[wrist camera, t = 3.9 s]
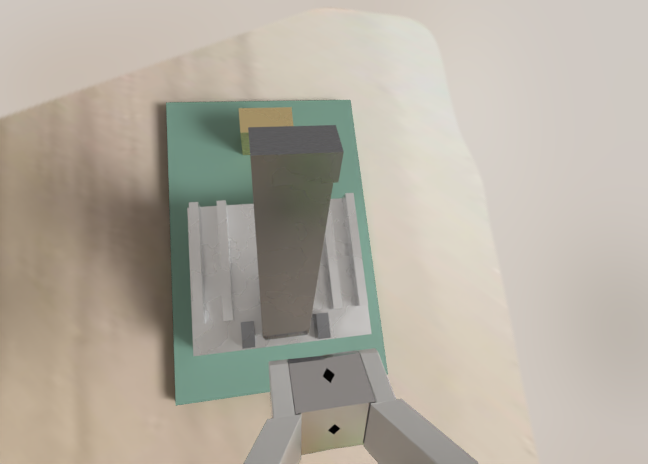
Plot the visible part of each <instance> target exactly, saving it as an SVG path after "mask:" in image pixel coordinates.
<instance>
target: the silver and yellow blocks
mask: <svg viewBox="0 0 648 464" xmlns="http://www.w3.org/2000/svg"><path fill="white" fill-rule="evenodd" d="M239 120H240V134H241V143H242V152H243V155H250V147H249V132H248V127H279V126H293V116H292V107H277V108H239ZM216 202H217V206H206V207H201V206H200V205H199V203H198V202H189V208H187V212H188V237H189V261H190V286H191V310H192V335H193V356H200V355H208V354H216V353H224V352H232V351H240V350H248V349H256V348H264V347H272V346H280V345H288V344H296V343H303V342H311V341H319V340H327V339H335V338H343V337H351V336H359V335H367V334H372V333H371V325H370V318H369V310H368V299H367V291H366V284H365V276H364V268H363V261H362V253H361V246H360V238H359V230H358V223H357V215H356V208H355V200H354V193H345V195H344V196H343V198H339V199H331V200H330V206H329V212H328V218H327V224H326V231H325V237H324V243H323V249H322V255H321V261H320V267H319V274H318V280H317V286H316V292H315V298H314V304H313V310H312V316H311V323H310V329H309V333H308V335H303V336H295V337H287V338H278V339H270V340H265V339H264V338H263V332H262V319H261V304H260V290H259V276H258V261H257V247H256V233H255V218H254V204H239V205H227V204H226V200H221V201H216Z"/></svg>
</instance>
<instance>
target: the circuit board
mask: <svg viewBox="0 0 648 464" xmlns="http://www.w3.org/2000/svg"><path fill="white" fill-rule="evenodd" d="M277 107H292V116H293V126H318V125H336V127H337V131H338V134H339V137H340V141H341V144H342V148H343V151H344V154H343V159H342V165H341V170H340V176H339V182H336V183H333V188H332V194H331V199H339V198H343V196H344V195H345V193H354V200H355V208H356V215H357V223H358V230H359V238H360V246H361V253H362V261H363V268H364V276H365V284H366V291H367V299H368V310H369V318H370V325H371V333H372V334H367V335H359V336H351V337H343V338H335V339H327V340H319V341H311V342H303V343H296V344H288V345H280V346H272V347H264V348H256V349H248V350H240V351H232V352H224V353H216V354H208V355H200V356H193V335H192V310H191V286H190V261H189V237H188V212H187V208H189V202H198V203H199V205H200V206H201V207H206V206H217V202H216V201H221V200H226V204H227V205H239V204H253V190H252V175H251V161H250V155H243V152H242V143H241V134H240V120H239V108H277ZM166 112H167V144H168V176H169V208H170V240H171V271H172V303H173V335H174V367H175V399H176V405H183V404H190V403H196V402H203V401H210V400H217V399H224V398H231V397H237V396H244V395H251V394H258V393H265V392H270V383H269V365H268V363H269V361H277V360H285V359H287V360H288V359H294V358H304V357H314V356H322V355H326V354H333V353H340V352H347V351H354V350H357V351H358V350H365V349H372V348H375V349H376V350H377V351H378V353H379V356H380V358H381V361H382V364H383V366H384V369H385V371H386V374H387V375H388V372H387V364H386V357H385V350H384V342H383V335H382V328H381V320H380V313H379V306H378V298H377V291H376V284H375V276H374V269H373V262H372V255H371V247H370V240H369V233H368V225H367V218H366V211H365V203H364V196H363V189H362V181H361V174H360V167H359V159H358V152H357V145H356V138H355V130H354V123H353V116H352V108H351V101H350V100H308V101H238V102H169V103H166Z"/></svg>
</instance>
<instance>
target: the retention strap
mask: <svg viewBox="0 0 648 464" xmlns="http://www.w3.org/2000/svg"><path fill="white" fill-rule="evenodd" d="M248 132H249V147H250V161H251V175H252V190H253V204H254V218H255V233H256V247H257V261H258V276H259V290H260V304H261V319H262V332H263V338H264V339H265V340H270V339H278V338H287V337H295V336H303V335H308V333H309V329H310V323H311V316H312V310H313V304H314V298H315V292H316V286H317V280H318V274H319V267H320V261H321V255H322V249H323V243H324V237H325V231H326V224H327V218H328V212H329V206H330V200H331V194H332V188H333V183H336V182H339V176H340V170H341V165H342V159H343V154H344V151H343V148H342V144H341V141H340V137H339V134H338V131H337V127H336V125H318V126H279V127H248Z"/></svg>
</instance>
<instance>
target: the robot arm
mask: <svg viewBox="0 0 648 464" xmlns="http://www.w3.org/2000/svg"><path fill="white" fill-rule="evenodd" d="M268 365H269V383H270V401H271V414H272V418H271V419H267V421H266V422H265V424H264V426H263V428H262V430H261V432H260V434H259V436H258V438H257V439H256V441H255V443H254V445H253V447H252V449H251V451H250V453H249V454H248V456H247V458H246V460H245V462H244V464H299V462H300V460H301V455H305V454H310V453H315V452H320V451H325V450H330V449H336V448H343V447H350V446H357V445H364V447H365V449H366V450H367V451H368V452H369V453H370V454H371V456H372V457H373V458H374V459H375V460H376V461H377V462H378V464H478V462H477V461H476V460H475V459H474V458H472V457H471V456H470V455H469V454H468V453H466V452H465V451H464V450H463V449H462V448H460V447H459V446H458V445H457V444H456V443H454V442H453V441H452V440H451V439H450V438H448V437H447V436H446V435H445V434H444V433H442V432H441V431H440V430H439V429H437V428H436V427H435V426H434V425H433V424H431V423H430V422H429V421H428V420H427V419H425V418H424V417H423V416H422V415H421V414H419V413H418V412H417V411H416V410H415V409H413V408H412V407H411V406H410V405H409V404H407V403H406V402H405V401H404V400H403V399H396V397H395V394H394V392H393V389H392V387H391V384H390V382H389V379H388V376H387V374H386V371H385V369H384V366H383V364H382V361H381V358H380V356H379V353H378V351H377V350H376V349H375V348H372V349H365V350H358V351H357V350H354V351H347V352H340V353H333V354H326V355H322V356H314V357H304V358H294V359H288V360H287V359H285V360H277V361H269V363H268Z"/></svg>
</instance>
